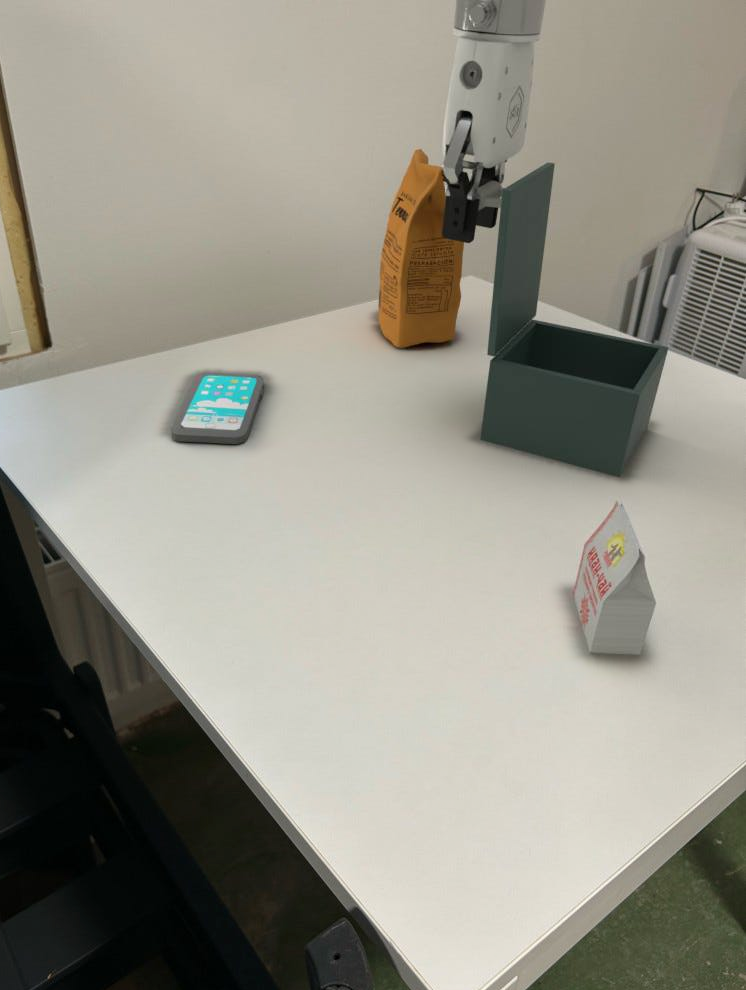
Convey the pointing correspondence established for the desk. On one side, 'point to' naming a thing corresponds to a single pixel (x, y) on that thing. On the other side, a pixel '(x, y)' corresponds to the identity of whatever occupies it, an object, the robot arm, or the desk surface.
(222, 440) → the smartphone
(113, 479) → the desk surface
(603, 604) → the white paper food bag
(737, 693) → the desk surface
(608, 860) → the desk surface
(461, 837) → the desk surface
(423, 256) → the coffee package
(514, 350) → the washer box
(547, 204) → the green box lid
